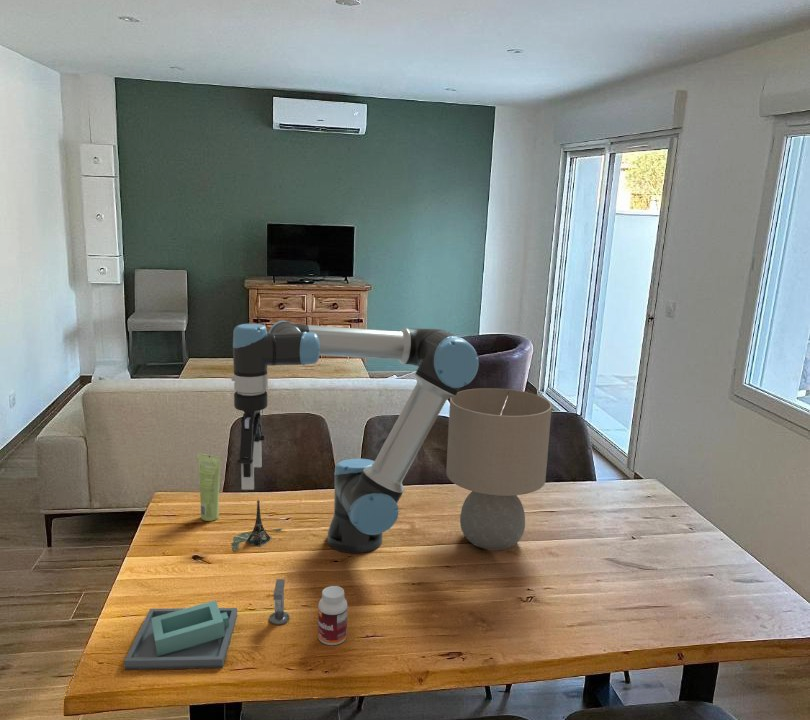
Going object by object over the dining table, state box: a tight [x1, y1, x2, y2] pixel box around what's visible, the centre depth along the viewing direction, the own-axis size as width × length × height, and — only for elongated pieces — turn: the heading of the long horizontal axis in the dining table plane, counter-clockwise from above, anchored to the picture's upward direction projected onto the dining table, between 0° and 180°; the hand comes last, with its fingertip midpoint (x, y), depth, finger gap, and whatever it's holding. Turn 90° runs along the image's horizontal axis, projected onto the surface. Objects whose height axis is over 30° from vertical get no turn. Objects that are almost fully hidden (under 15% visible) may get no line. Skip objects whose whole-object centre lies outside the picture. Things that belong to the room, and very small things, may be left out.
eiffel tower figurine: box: [230, 499, 284, 552], centre depth 190 cm, size 15×10×13 cm
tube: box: [197, 452, 222, 522], centre depth 201 cm, size 6×5×20 cm
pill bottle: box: [317, 585, 348, 646], centre depth 148 cm, size 6×6×11 cm
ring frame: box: [151, 599, 229, 656], centre depth 147 cm, size 15×9×4 cm, turn 114°
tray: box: [123, 607, 238, 671], centre depth 146 cm, size 19×18×2 cm
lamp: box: [445, 387, 553, 551], centre depth 190 cm, size 27×27×41 cm
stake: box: [268, 578, 290, 626], centre depth 155 cm, size 4×6×8 cm
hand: (252, 477), depth 165 cm, fingers open, 13 cm apart
